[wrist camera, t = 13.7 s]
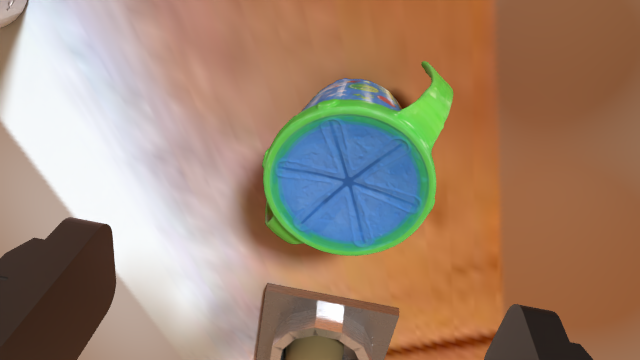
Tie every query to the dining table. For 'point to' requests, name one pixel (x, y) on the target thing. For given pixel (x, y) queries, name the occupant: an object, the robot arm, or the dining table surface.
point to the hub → (324, 323)
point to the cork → (315, 349)
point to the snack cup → (355, 167)
